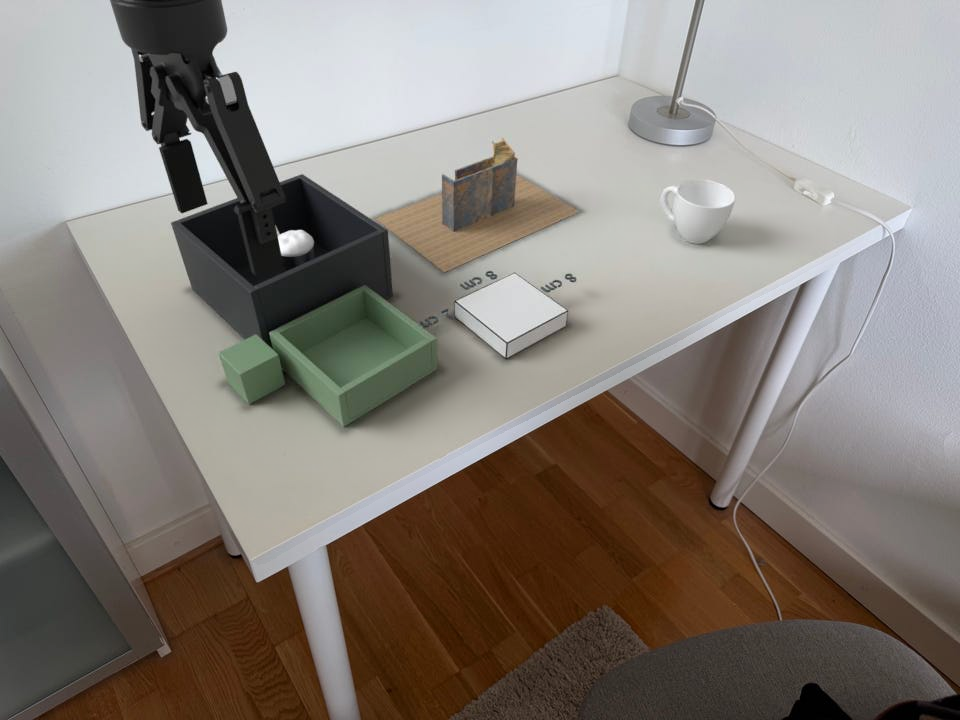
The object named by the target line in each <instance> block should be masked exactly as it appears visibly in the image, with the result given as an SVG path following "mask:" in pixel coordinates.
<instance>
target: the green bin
mask: <svg viewBox="0 0 960 720" xmlns="http://www.w3.org/2000/svg"><path fill="white" fill-rule="evenodd" d="M422 327H423V326H422V325H421V324H419V323H417V322H416V321H414V320H413V319H411V318H410V317H409V316H407V315H406V314H405V313H404V312H402V311H401V310H400V309H399V308H397V307H396V306H394V305H393V304H391V303H390V302H389V301H388V300H385V299H383V298H382V297H381V296H379V295H378V294H377V293H375V292H374V291H373V290H371V289H370V288H368V287H367V286H366V285H364V286H362V287H360V288H357V289H355V290H353V291H351V292H349V293H347V294H345V295H343V296H341V297H339V298H337V299H335V300H333V301H331V302H329V303H327V304H325V305H323V306H321V307H319V308H317V309H315V310H313V311H311V312H309V313H307V314H305V315H303V316H301V317H299V318H297V319H295V320H293V321H291V322H289V323H287V324H285V325H283V326H281V327H279V328H277V329H276V330H273V331H271V332H269V334H270V338H271V343H272V347H273V350H274V351H275V352H276V353H277V354H278V355H279V359H280V364H281V368H282V371H283V372H285V373H286V374H287V375H288V376H289V377H290V378H291V379H292V380H293V381H294V382H295V383H296V384H297V385H298V386H300V387H301V389H303V391H305V392H306V394H308V395H309V396H310V397H311V398H312V399H313V400H314V401H315V402H317V404H319V405H320V406H321V408H323V409H324V410H325V411H326V412H327V413H328V414H329V415H330V416H331V417H332V418H333V419H335V421H336V422H338V424H339V425H341V426H342V427H343V428H345V427H347V426H348V425H350V424H351V423H353V422H355V421H356V420H357V419H359V418H361V417H363V416H364V415H365V414H367V413H369V412H371V411H372V410H374V409H375V408H377V407H379V406H380V405H382V404H383V403H385V402H387V401H388V400H390V399H392V398H393V397H395V396H396V395H398V394H400V393H402V392H403V391H405V390H406V389H408V388H410V387H411V386H413V385H415V384H416V383H418V382H419V381H421V380H423V379H424V378H426V377H427V376H429V375H430V374H432V373H434V372H436V371H437V370H438V338H437V337H436V336H435V335H433V334H432V333H431V332H429V331H428V330H426V328H425V329H424V328H422Z"/></svg>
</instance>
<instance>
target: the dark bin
mask: <svg viewBox="0 0 960 720" xmlns="http://www.w3.org/2000/svg"><path fill="white" fill-rule="evenodd" d="M279 182H280V185H281V187H282V190H283V192H284V194H285V198H286V201H285V202H284V203H281V204H279V205H276V206H274V207H272V211H273V216H274V221H275V225H276V227H277V229H278V231H279V233H280V234H282V233H285V232H287V231H290V230H295V231H296V230H303V231H305V232H306V233H307V234H309V235H310V236H311V237H312V238H313V240H314V259H313V260H311V261H309V262H306V263H304V264H302V265H300V266H297V267H295V268H293V269H291V270H289V271H286V272H284V273H281V270H280V268H279V266H277V267H274V268H272V269H270V270H268V271H265V272H263V273H261V274H259V275H255V274H253V273H252V272H251V268H250V264H249V260H248V256H247V252H246V247H245V243H244V239H243V235H242V231H241V227H240V223H239V219H238V215H237V214H236V212H235V211H234V210H233V209H234V208H235V207H236V205H238V204H240V202H239V200H238V198H237V197H235V198H233V199H231V200H228V201H225V202H222V203H220V204H217V205H215V206H211V207H209V208H206V209H204V210H201V211H198V212H195V213H193V214H189V215H188V216H185V217H182V218H180V219H177V220H175V221H171V222H170V226H171V228H172V231H173V234H174V237H175V241H176V243H177V246H178V247H177V248H178V250H179V252H180V253H179V254H180V255H181V259H182V262H183V265H184V268H185V271H186V274H187V277H188V280H189V284H190V287H191V290H192V291H193V292H194V293H195V294H197V296H198V297H199V298H201V300H202V301H204V303H206V304H207V305H208V306H209V307H210V308H211V309H212V310H214V312H215V313H216V314H218V316H219V317H221V319H223V321H225V323H227V325H229V326H230V327H231V328H232V329H233V330H234V331H235V332H236V333H237V334H238V335H240V337H241V338H242V339H243V340H245V339H247V338H249V337H251V336H253V335H255V334H257V335H258V336H259V337H260V338H261V339H262V340H263V341H264V342H265V343H266V344H267V345H268V346H269V347H271V348H272V349H273V347H272V343H271V338H270V334H269V332H271V331H273V330H276V329H277V328H279V327H281V326H283V325H285V324H287V323H289V322H291V321H293V320H295V319H297V318H299V317H301V316H303V315H305V314H307V313H309V312H311V311H313V310H315V309H317V308H319V307H321V306H323V305H325V304H327V303H329V302H331V301H333V300H335V299H337V298H339V297H341V296H343V295H345V294H347V293H349V292H351V291H353V290H355V289H357V288H360V287H362V286H364V285H366V286H367V287H368V288H370V289H371V290H373V291H374V292H375V293H377V294H378V295H379V296H381V297H382V298H383V299H385V300H386V301H388V300H389V299H391V298H393V297H394V292H393V282H392V281H393V280H392V266H391V265H392V264H391V254H390V253H391V251H390V242H389V241H390V239H389V229H388V228H386V227H385V226H383V225H382V224H379V223H378V222H377V221H375V220H373V219H372V218H370V217H369V216H367V215H365V214H364V213H362V212H361V211H359V209H356V208H355V207H354V206H352V205H350V204H349V203H347V202H346V201H345V200H343V199H341V198H340V197H338V196H337V195H336V194H333V193H332V192H331V191H329V190H327V189H326V188H324V187H323V186H322V185H320V184H318V183H317V182H315V181H314V180H312V179H311V178H309V177H308V176H306V175H305V174H303V173H301V174H298V175H296V176H295V175H294V176H293V177H289V178H287V179H285V180H282V181H279Z"/></svg>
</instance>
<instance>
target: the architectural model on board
mask: <svg viewBox="0 0 960 720" xmlns="http://www.w3.org/2000/svg"><path fill="white" fill-rule="evenodd" d="M491 144H492V150H493V155H492V156H491V157H487V158H485V159H482V160H480V161H477V162H473V163H471V164H468V165H466V166H463V167H459V168H457V169H454V179H452V178H451V177H449V176H448V175H446V174H444V173H443V174H441V193H439V194H436V195H433V196H430V197H428V198H426V199H423V200H420V201H418V202H415V203H412V204H409V205H407V206H404V207H402V208H400V209H397V210H394V211H391V212H389V213H386V214H384V215H381V216H377V217H375V218H374V219H375V220H376V222H379V223H380V225H382V226H383V227H384V228H385V229H387V230H388V231H390V232H391V233H393V234H394V235H395V236H397V237H398V238H399V239H400V240H402V241H403V242H404V243H406V244H407V245H408V246H409V247H411V248H412V249H413V250H415V251H416V252H417V253H419V254H420V255H421V256H423V257H424V258H425V259H426V260H427V261H429V262H430V263H432V264H433V265H434V266H436V268H438V269H439V270H441V271H442V272H443V273H446V272H448V271H451V270H453V269H455V268H457V267H460V266H462V265H464V264H466V263H468V262H470V261H473V260H475V259H477V258H480V257H482V256H484V255H487V254H488V253H490V252H493V251H495V250H497V249H499V248H502V247H504V246H507V245H508V244H510V243H513V242H516V241H517V240H519V239H522V238H524V237H526V236H529V235H531V234H534V233H535V232H538V231H540V230H542V229H544V228H547V227H548V226H551V225H553V224H555V223H557V222H560V221H562V220H565V219H567V218H569V217H571V216H573V215H576V214H579V213H580V210H578V209H576V208H574V207H573V206H571V205H569V204H567V203H566V202H564V201H562V200H560V199H559V198H557V197H555V196H554V195H552V194H550V193H549V192H547V191H545V190H544V189H542V188H540V187H538V186H537V185H535V184H534V183H532V182H530V181H528V180H527V179H525V178H524V177H522V176H520V175H518V174H517V172H518V157H516V152H515V151H514V149H512V147H510V146H509V144H508V143H507V141H506V140H505V139H504V137H501V140H500V141H497V142H494V140H491Z"/></svg>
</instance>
